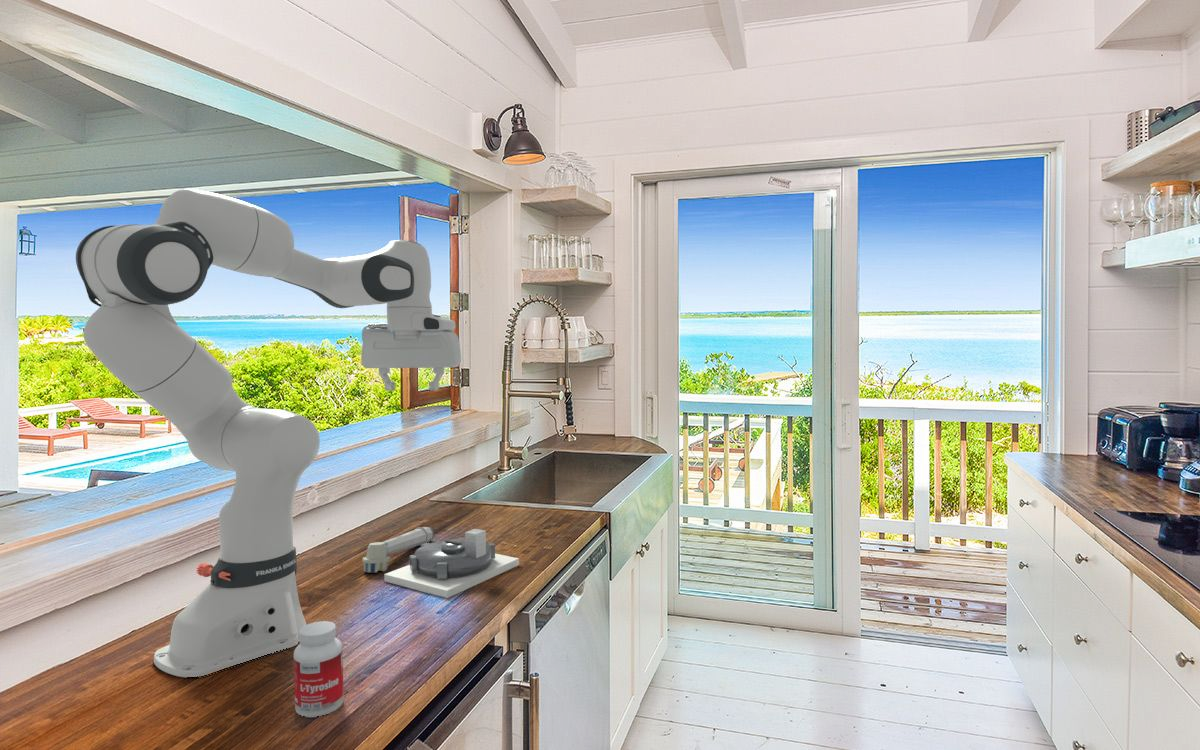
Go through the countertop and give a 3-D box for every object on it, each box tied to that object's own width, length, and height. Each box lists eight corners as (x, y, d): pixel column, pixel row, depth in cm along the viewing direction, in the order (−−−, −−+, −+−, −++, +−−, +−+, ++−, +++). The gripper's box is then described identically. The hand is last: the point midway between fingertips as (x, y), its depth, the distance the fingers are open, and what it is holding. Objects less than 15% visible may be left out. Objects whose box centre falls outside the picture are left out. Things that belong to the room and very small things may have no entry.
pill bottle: (295, 723, 88) (291, 641, 87) (295, 701, 94) (292, 623, 93) (345, 712, 90) (342, 632, 90) (342, 691, 96) (340, 615, 95)
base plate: (447, 598, 130) (446, 589, 130) (384, 581, 140) (384, 573, 140) (519, 565, 149) (518, 557, 149) (459, 552, 158) (459, 545, 158)
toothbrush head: (436, 526, 168) (379, 541, 143) (435, 553, 167) (378, 573, 143) (418, 525, 169) (358, 540, 145) (417, 552, 168) (356, 571, 144)
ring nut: (394, 568, 142) (393, 530, 141) (451, 546, 156) (450, 513, 155) (453, 582, 133) (452, 542, 132) (507, 558, 147) (506, 522, 146)
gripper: (354, 323, 135) (356, 391, 135) (451, 321, 132) (453, 391, 132) (369, 323, 141) (371, 389, 142) (462, 321, 138) (464, 388, 139)
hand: (411, 390), depth 137 cm, fingers open, 8 cm apart
